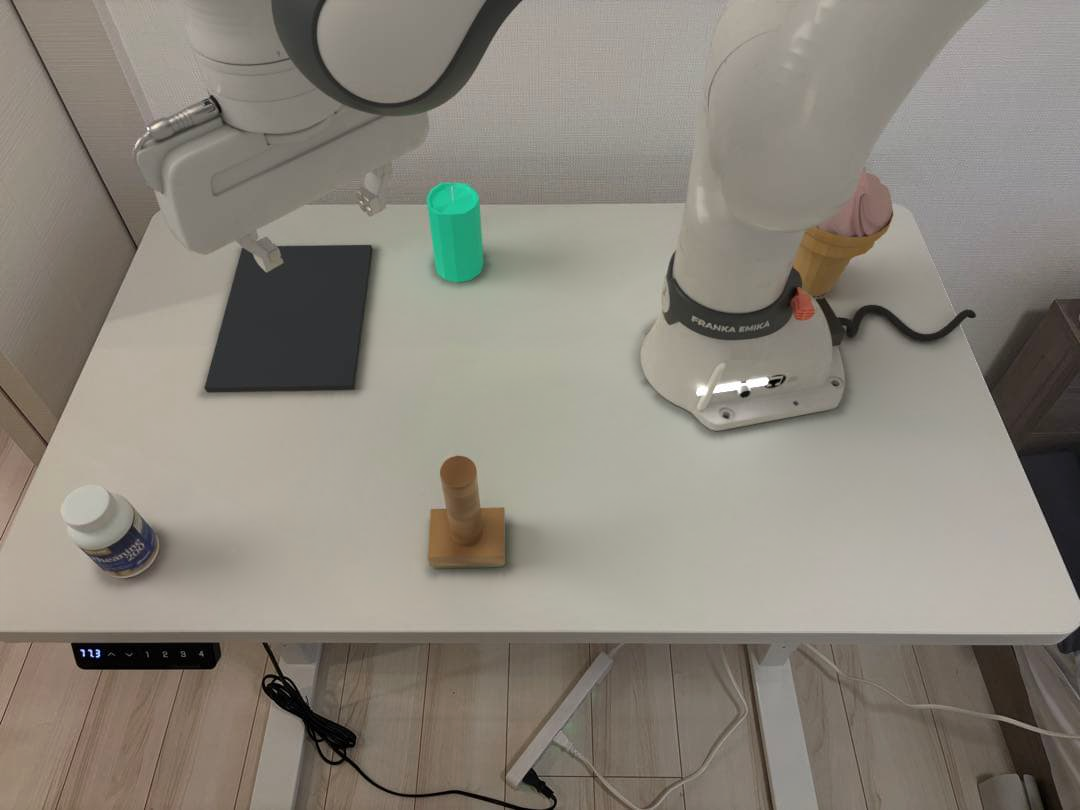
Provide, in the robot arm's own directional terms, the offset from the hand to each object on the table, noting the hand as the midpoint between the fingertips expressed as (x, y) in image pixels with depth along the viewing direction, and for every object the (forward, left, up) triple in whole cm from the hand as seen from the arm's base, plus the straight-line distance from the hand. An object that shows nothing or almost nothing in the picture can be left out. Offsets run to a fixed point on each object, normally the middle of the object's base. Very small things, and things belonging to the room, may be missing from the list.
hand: (323, 236), depth 62 cm
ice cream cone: (-51, -20, -27) cm, 61 cm away
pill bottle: (+22, +14, -27) cm, 38 cm away
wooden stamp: (-10, +14, -27) cm, 32 cm away
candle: (-8, -24, -27) cm, 37 cm away
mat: (+11, -16, -27) cm, 33 cm away
